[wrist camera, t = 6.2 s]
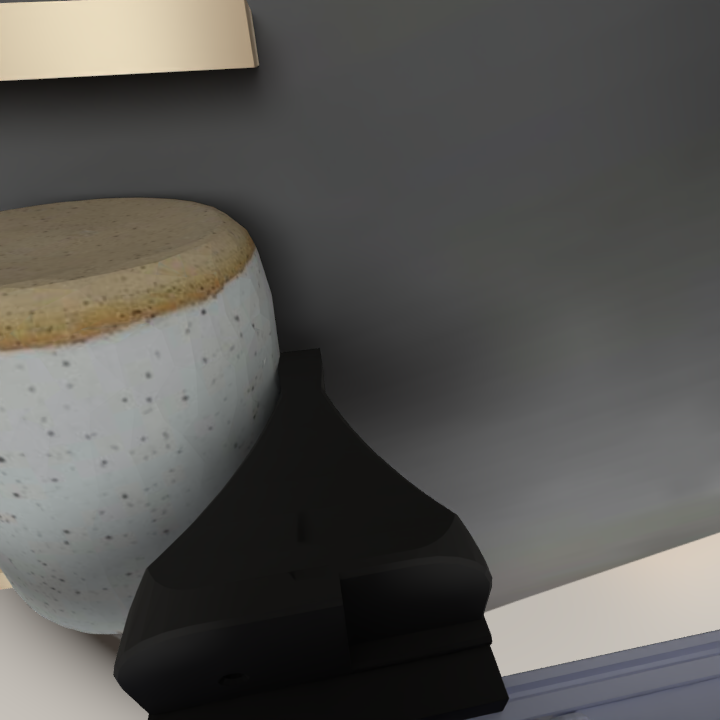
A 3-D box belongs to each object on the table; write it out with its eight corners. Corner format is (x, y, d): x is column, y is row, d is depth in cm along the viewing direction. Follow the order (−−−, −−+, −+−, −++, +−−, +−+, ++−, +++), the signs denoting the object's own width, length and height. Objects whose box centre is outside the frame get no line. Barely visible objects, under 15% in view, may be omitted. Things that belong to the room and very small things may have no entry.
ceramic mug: (267, 174, 11) (241, 314, 5) (297, 402, 16) (302, 617, 10) (-176, 193, 10) (-885, 401, 4) (-2, 432, 15) (-205, 695, 9)
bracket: (251, 10, 9) (243, -6, 7) (319, 472, 19) (326, 532, 16) (-376, 35, 8) (-645, 25, 6) (34, 517, 18) (-4, 590, 15)
